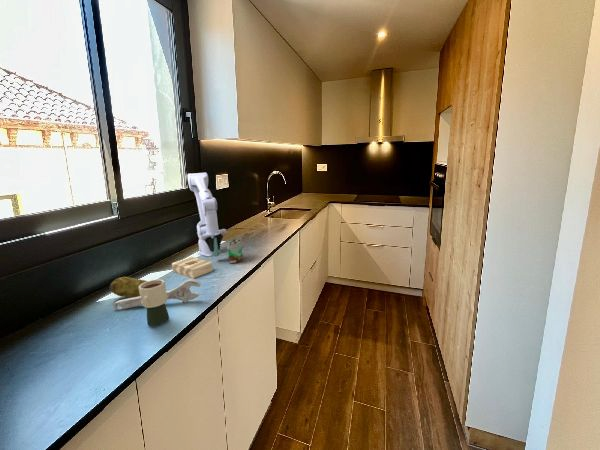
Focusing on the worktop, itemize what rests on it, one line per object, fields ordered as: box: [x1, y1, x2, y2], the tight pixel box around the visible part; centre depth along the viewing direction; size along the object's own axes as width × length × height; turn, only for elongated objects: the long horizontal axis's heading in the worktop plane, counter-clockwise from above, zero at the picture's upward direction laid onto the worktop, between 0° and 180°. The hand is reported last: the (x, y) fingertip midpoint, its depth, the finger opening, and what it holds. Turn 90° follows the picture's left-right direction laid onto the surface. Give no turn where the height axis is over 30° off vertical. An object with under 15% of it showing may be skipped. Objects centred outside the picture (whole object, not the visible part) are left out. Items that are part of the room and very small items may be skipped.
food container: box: [226, 237, 244, 265], centre depth 140 cm, size 12×6×10 cm, turn 179°
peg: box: [212, 237, 220, 257], centre depth 140 cm, size 3×3×9 cm
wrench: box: [113, 278, 201, 311], centre depth 100 cm, size 8×2×30 cm
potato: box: [109, 276, 148, 299], centre depth 107 cm, size 8×13×8 cm, turn 98°
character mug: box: [139, 279, 170, 327], centre depth 88 cm, size 11×7×13 cm, turn 4°
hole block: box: [171, 256, 214, 280], centre depth 130 cm, size 16×10×4 cm, turn 53°
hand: (215, 250), depth 140 cm, fingers closed on peg, 3 cm apart
